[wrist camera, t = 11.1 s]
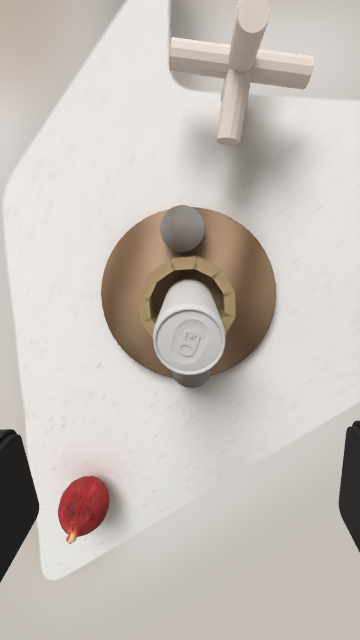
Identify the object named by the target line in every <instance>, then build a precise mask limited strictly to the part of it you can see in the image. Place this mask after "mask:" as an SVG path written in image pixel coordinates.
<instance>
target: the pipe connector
mask: <svg viewBox="0 0 360 640" xmlns="http://www.w3.org/2000/svg"><path fill="white" fill-rule="evenodd" d="M270 10H271V9H270V4H269V1H268V0H237V7H236V13H235V20H234V27H233V34H232V40H231V45H225V44H218V43H210V42H203V41H196V40H189V39H181V38H174V37H172V39H171V46H170V71H172V72H180V73H187V74H194V75H201V76H209V77H217V78H223V79H224V83H223V88H222V92H221V101H222V107H221V114H220V120H219V127H218V134H217V142H219V143H221V144H224V145H238V144H240V141H241V135H242V129H243V123H244V117H245V111H246V105H247V99H248V94H249V88H250V82H253V83H260V84H267V85H275V86H282V87H289V88H296V89H305V88H306V86H307V84H308V82H309V79H310V77H311V74H312V71H313V67H314V61H315V59H314V57H313V56H306V55H299V54H291V53H284V52H277V51H270V50H262V49H259V46H260V43H261V40H262V38H263V35H264V32H265V29H266V26H267V23H268V20H269V17H270Z"/></svg>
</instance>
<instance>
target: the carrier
mask: <svg viewBox="0 0 360 640" xmlns="http://www.w3.org/2000/svg"><path fill="white" fill-rule="evenodd" d="M185 278H192V279H197V280H199V281H201V282H203V283H204V284H205V285H206V286H207V287H208V288H209V290H210V292H211V294H212V297H213V299H214V302H215V304H216V307H217V310H218V312H219V315H220V317H221V320H222V323H223V326H224V329H225V333H226V335H225V347H224V351H223V354H222V356H221V358H220V359H219V361H218V362H217V363H216V364H215V365H214V366H213V367H212V368H210V369H209V370H207V371H205V372H203V373H199V374H195V375H184V374H180V373H176V372H174V371H172V370H170V369H168V368H167V367H166V366H165V365H164V364H162V362H161V361H160V359H159V358H158V357H157V354H156V352H155V349H154V343H153V332H154V327H155V324H156V321H157V318H158V316H159V313H160V310H161V308H162V305H163V302H164V300H165V297H166V294H167V292H168V290H169V288H170V287H171V286H172V285H173V284H174V283H175V282H177V281H179V280H182V279H185ZM101 297H102V307H103V311H104V316H105V319H106V321H107V324H108V327H109V329H110V331H111V333H112V335H113V336H114V338H115V339H116V341H117V342H118V344H119V345H120V346H121V347H122V349H123V350H124V351H125V352H126V353H127V354H128V355H129V356H130V357H131V358H133V359H134V360H135V361H137V362H138V363H139V364H141V365H142V366H144V367H146V368H148V369H150V370H152V371H154V372H157V373H159V374H162V375H166V376H170V377H174V378H175V380H176V381H177V382H178V383H179V384H180V385H182V386H185V387H189V388H194V387H199V386H201V385H203V384H204V383H205V382H206V381H207V380H208V378H209V376H212V375H215V374H218V373H221V372H224V371H226V370H228V369H230V368H232V367H234V366H235V365H237V364H238V363H240V362H241V361H242V360H244V359H245V358H246V357H247V356H248V355H250V353H251V352H252V351H253V350H254V349H255V348H256V347H257V346H258V344H259V343H260V341H261V340H262V339H263V337H264V335H265V333H266V332H267V330H268V328H269V325H270V322H271V320H272V317H273V313H274V308H275V300H276V284H275V278H274V273H273V269H272V266H271V263H270V261H269V259H268V257H267V255H266V252H265V250H264V249H263V248H262V246H261V245H260V243H259V242H258V240H257V239H256V238H255V237H254V236H253V235H252V234H251V233H250V231H248V230H247V229H246V228H245V227H244V226H242V225H241V224H240V223H238V222H237V221H235V220H233V219H232V218H230V217H228V216H226V215H223V214H221V213H219V212H216V211H212V210H208V209H203V208H195V207H189V206H185V205H179V206H175V207H173V208H171V209H168V210H165V211H162V212H158V213H156V214H154V215H151V216H149V217H147V218H145V219H144V220H142V221H141V222H139V223H137V224H136V225H135V226H134V227H132V228H131V229H130V230H129V231H128V232H127V233H126V234H125V235H124V236H123V237H122V238H121V239H120V240H119V242H118V243H117V245H116V246H115V248H114V249H113V251H112V253H111V255H110V257H109V259H108V261H107V264H106V267H105V270H104V274H103V280H102V290H101Z"/></svg>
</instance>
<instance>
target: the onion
mask: <svg viewBox="0 0 360 640" xmlns="http://www.w3.org/2000/svg"><path fill="white" fill-rule="evenodd" d="M108 508H109V494H108V489H107V488H106V486H105V484H104V483H103V482H102V481H101V480H100V479H99V478H96V477H93V476H84V477H81V478H79V479H77V480H75V481H73V482H72V483H71V484H70V485H69V487H68V488H67V489H66V490H65V491H64V493H63V495H62V497H61V500H60V504H59V509H58V517H59V521H60V524H61V527H62V528H63V530H64V531H65V532H66V533H67V534H68V536H67V538H66V541H67V542H68V543H69V544H71V543H72V542H74V541H75V540H76V538H77V537H78V536H83V535H86V534H88V533H90V532H92V531H93V530H94V529H96V528H97V527H98V526H99V525H100V524H101V523H102V522H103V520H104V518H105V516H106V513H107V511H108Z"/></svg>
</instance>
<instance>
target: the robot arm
mask: <svg viewBox="0 0 360 640" xmlns="http://www.w3.org/2000/svg"><path fill="white" fill-rule="evenodd" d="M341 477H342V478H341V486H340V495H339V509H340V513H341V516H342V518H343V521H344V523H345V524H346V526H347V528H348V530H349V532H350V534H351V536H352V538H353V540H354V542H355V544H356V546H357V548H358V550H359V552H360V421H355V422H354V423H353V425H352V427H348V428H347V432H346V440H345V449H344V459H343V467H342V476H341ZM38 512H39V502H38V498H37V494H36V490H35V487H34V483H33V479H32V476H31V472H30V468H29V464H28V461H27V457H26V453H25V449H24V446H23V442H22V438H21V436H20V435H17V433H16V432H15V431H14V430H11V429H9V430H0V582H1V580H2V579H3V577H4V575H5V573H6V572H7V570H8V568H9V566H10V564H11V563H12V561H13V559H14V557H15V556H16V554H17V552H18V550H19V548H20V547H21V545H22V543H23V541H24V540H25V538H26V536H27V534H28V533H29V531H30V529H31V527H32V525H33V524H34V522H35V520H36V518H37V516H38Z"/></svg>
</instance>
